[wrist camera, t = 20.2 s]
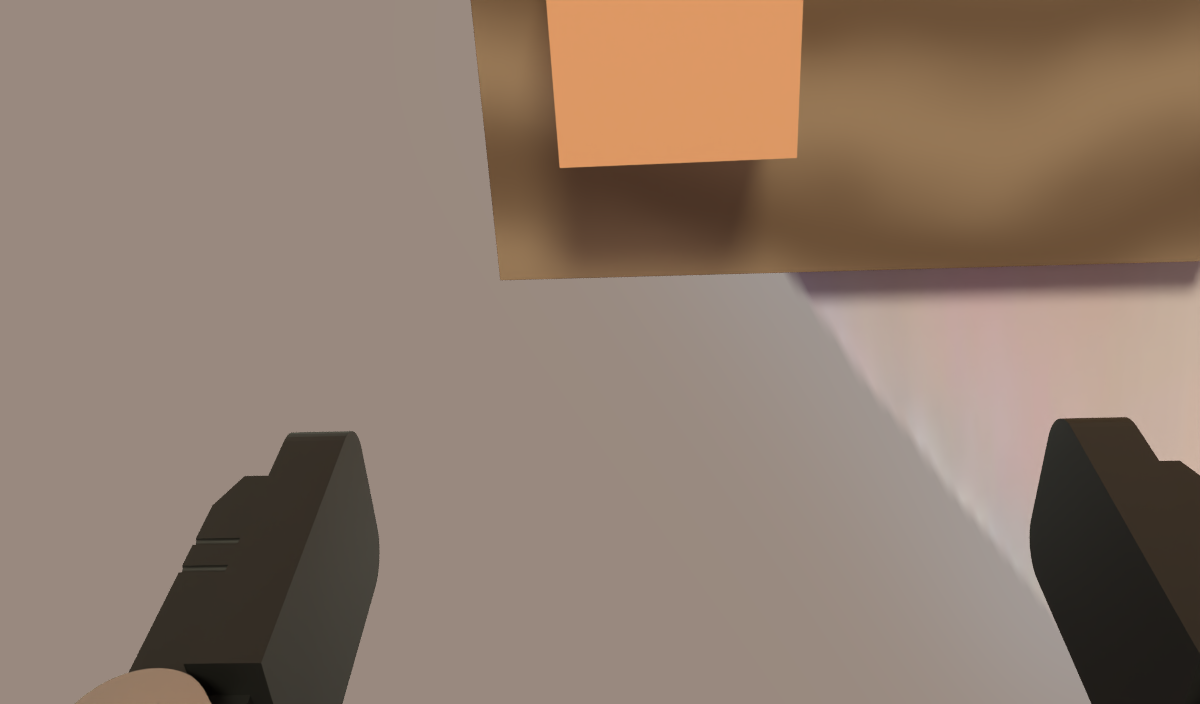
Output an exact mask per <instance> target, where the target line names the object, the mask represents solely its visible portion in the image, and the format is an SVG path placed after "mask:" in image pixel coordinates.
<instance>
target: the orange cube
mask: <svg viewBox="0 0 1200 704" xmlns="http://www.w3.org/2000/svg"><path fill="white" fill-rule="evenodd" d="M546 5H547V17H548V30H549V42H550V54H551V67H552V79H553V91H554V104H555V116H556V129H557V141H558V153H559V166H560V168H572V167H595V166H619V165H643V164H666V163H690V162H714V161H737V160H761V159H785V158H797V145H798V120H799V95H800V69H801V44H802V19H803V0H546Z"/></svg>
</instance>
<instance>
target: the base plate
mask: <svg viewBox="0 0 1200 704" xmlns="http://www.w3.org/2000/svg"><path fill="white" fill-rule="evenodd" d="M471 6H472V17H473V26H474V35H475V45H476V55H477V64H478V73H479V83H480V93H481V102H482V111H483V121H484V130H485V140H486V149H487V159H488V168H489V178H490V187H491V196H492V205H493V215H494V224H495V234H496V244H497V253H498V263H499V272H500V280H526V279H562V278H600V277H637V276H671V275H672V276H673V275H706V274H707V275H710V274H744V273H746V274H747V273H784V272H820V271H857V270H894V269H931V268H967V267H1004V266H1041V265H1078V264H1114V263H1151V262H1188V261H1200V0H803V19H802V44H801V69H800V95H799V120H798V145H797V158H785V159H761V160H737V161H714V162H690V163H666V164H643V165H619V166H595V167H572V168H560V166H559V153H558V141H557V129H556V116H555V104H554V91H553V79H552V67H551V54H550V42H549V30H548V17H547V5H546V0H471Z"/></svg>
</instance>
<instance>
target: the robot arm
mask: <svg viewBox="0 0 1200 704" xmlns="http://www.w3.org/2000/svg"><path fill="white" fill-rule="evenodd" d="M1030 551H1031V559H1032V564H1033V568H1034V572H1035V575H1036V577H1037V580H1038V582H1039V585H1040V587H1041V589H1042V591H1043V594H1044V596H1045V598H1046V601H1047V603H1048V605H1049V607H1050V610H1051V612H1052V614H1053V617H1054V619H1055V621H1056V624H1057V626H1058V628H1059V630H1060V633H1061V635H1062V637H1063V640H1064V642H1065V644H1066V646H1067V649H1068V651H1069V653H1070V655H1071V658H1072V660H1073V662H1074V665H1075V667H1076V669H1077V672H1078V674H1079V676H1080V679H1081V681H1082V683H1083V685H1084V688H1085V690H1086V692H1087V694H1088V697H1089V699H1090V701H1091V704H1200V475H1198V474H1197V473H1196V472H1194V471H1193V470H1192V469H1190V468H1189V467H1188V466H1186V465H1185V464H1183V463H1182V462H1181V461H1159V460H1158V458H1157V457H1156V455H1155V454H1154V452H1153V451H1152V449H1151V448H1150V446H1149V445H1148V443H1147V442H1146V440H1145V438H1144V437H1143V435H1142V434H1141V432H1140V431H1139V429H1138V428H1137V426H1136V425H1135V424H1134V422H1133V421H1132V420H1130V419H1129V418H1126V417H1117V418H1069V419H1058V420H1056V421H1055V422H1054V424H1053V425H1052V427H1051V430H1050V433H1049V437H1048V441H1047V446H1046V451H1045V456H1044V461H1043V465H1042V470H1041V475H1040V480H1039V485H1038V489H1037V494H1036V499H1035V504H1034V508H1033V513H1032V518H1031V524H1030ZM378 569H379V536H378V530H377V524H376V519H375V514H374V509H373V504H372V499H371V494H370V489H369V484H368V479H367V474H366V469H365V464H364V459H363V454H362V449H361V444H360V441H359V438H358V436H357V435H356V433H355V432H353V431H349V432H300V433H290V434H289V435H288V436H287V437H286V439H285V441H284V443H283V445H282V447H281V449H280V451H279V454H278V456H277V458H276V460H275V462H274V465H273V467H272V469H271V471H270V473H269V476H245V477H243V478H242V479H241V480H240V481H239V482H238V483H237V484H236V485H235V486H233V487H232V488H231V489H230V490H229V491H228V492H227V493H226V494H225V495H224V496H223V497H222V498H220V499H219V500H218V501H217V502H216V503H215V504H214V505H213V506H212V508H211V510H210V512H209V514H208V516H207V518H206V520H205V522H204V524H203V526H202V528H201V530H200V532H199V534H198V536H197V538H196V545H193V546H192V548H191V549H190V551H189V554H188V555H187V557H186V559H185V561H184V563H183V571H182V573H178V576H177V577H176V579H175V581H174V583H173V585H172V587H171V589H170V591H169V593H168V595H167V597H166V599H165V601H164V603H163V605H162V607H161V609H160V611H159V613H158V615H157V617H156V619H155V621H154V623H153V626H152V627H151V629H150V631H149V633H148V635H147V637H146V639H145V641H144V643H143V645H142V647H141V649H140V651H139V653H138V655H137V657H136V659H135V661H134V663H133V665H132V667H131V669H130V671H129V673H126V674H123V675H120V676H118V677H115V678H113V679H111V680H109V681H107V682H105V683H103V684H101V685H99V686H98V687H96V688H94V689H93V690H92V691H90V692H89V693H87V694H86V695H84V696H83V697H82V698H81V699H80V700H79V701H77V702H76V703H75V704H342V703H343V699H344V696H345V692H346V689H347V685H348V681H349V678H350V675H351V671H352V667H353V664H354V660H355V657H356V653H357V650H358V646H359V643H360V639H361V636H362V632H363V629H364V625H365V621H366V618H367V614H368V611H369V607H370V604H371V600H372V597H373V593H374V589H375V586H376V582H377V576H378Z"/></svg>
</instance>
